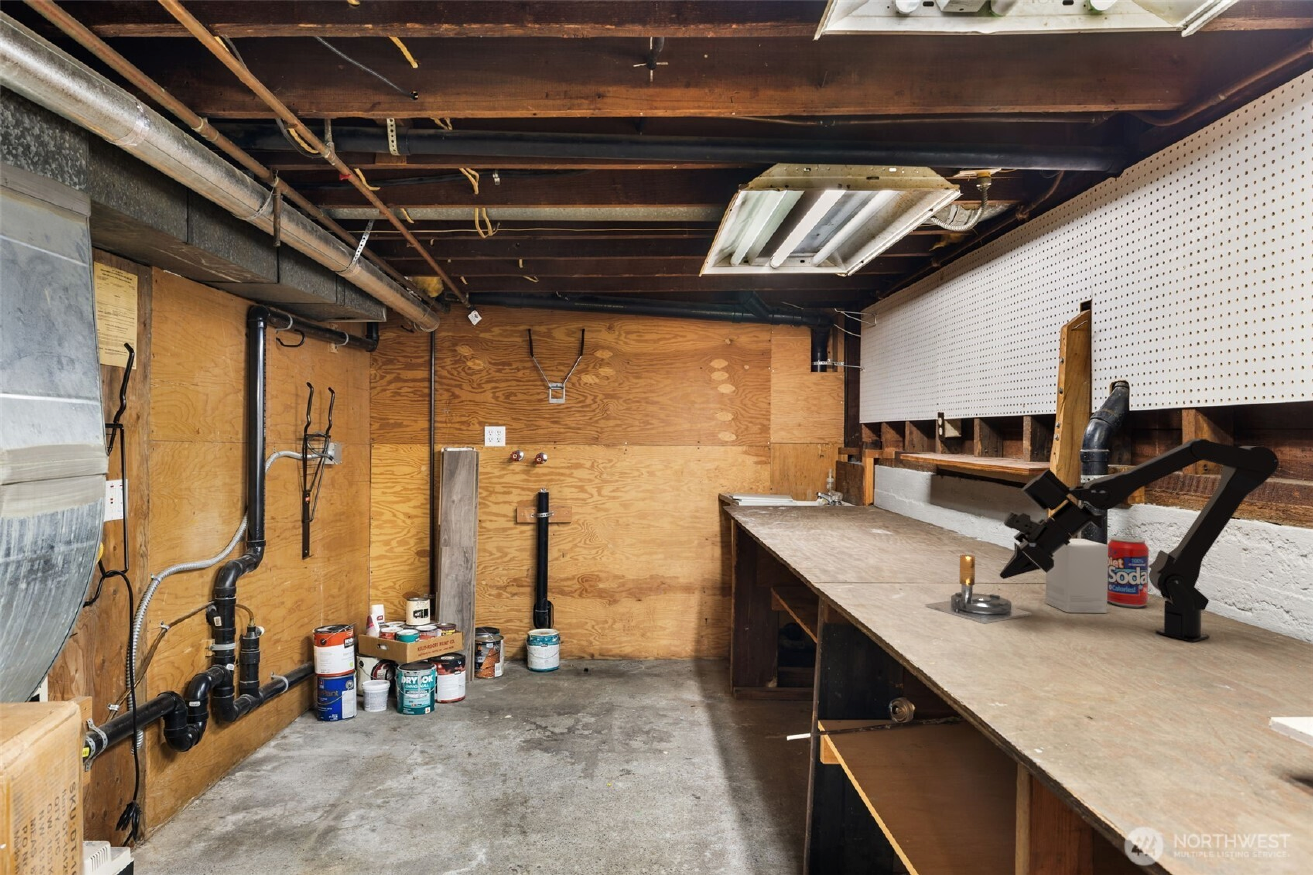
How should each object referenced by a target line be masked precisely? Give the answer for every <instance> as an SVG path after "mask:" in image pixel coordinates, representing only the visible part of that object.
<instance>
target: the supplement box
mask: <svg viewBox="0 0 1313 875" xmlns="http://www.w3.org/2000/svg"><path fill="white" fill-rule="evenodd" d="M1069 541H1070V543H1069V544H1068V545H1067V546H1066V545H1065V544H1064V545H1063V546H1062V547H1061V548H1059V549H1058V550H1057V551H1056V552H1055V553H1053V555H1054V556H1053V557H1052V558H1053V560H1054V567H1053V568H1052V569H1051V570H1049V571H1048V572H1047V573H1046V572H1045V603H1046V604H1047V605H1049V606H1051V607H1054V608H1056V609H1059V610H1060V611H1063V612H1065V613H1072V614H1073V613H1078V614H1079V613H1081V614H1083V613H1084V614H1107V613H1108V600H1107V579H1108V545H1107V544H1104V543H1101V542H1096V541H1094V540H1093V541H1092V540H1089V539H1086V538H1072V539H1070V540H1069Z"/></svg>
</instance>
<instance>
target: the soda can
mask: <svg viewBox="0 0 1313 875" xmlns="http://www.w3.org/2000/svg"><path fill="white" fill-rule="evenodd" d="M1106 545H1108V579H1107V602H1110V603H1111V604H1113V605H1115V606H1118V607H1124V608H1129V609H1130V608H1132V609H1138V608H1142V607H1144V606H1146V605H1147V604H1148V600H1149V599H1148V598H1149V597H1148V596H1149V567H1148V566H1149V559H1150V558H1149V551H1150V550H1149V547H1148V545H1147V544H1146V540H1145V539H1141V538H1135V537H1127V536H1126V537H1124V536H1115V537H1114V536H1113V537H1112V536H1111V537H1110V541H1109V542H1108V543H1107V544H1106Z"/></svg>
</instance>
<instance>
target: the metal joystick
mask: <svg viewBox="0 0 1313 875" xmlns="http://www.w3.org/2000/svg"><path fill="white" fill-rule="evenodd" d="M975 577H976V556H975V555H972V554H960V555H959V581H958V582H959V585H961V586H960V587H961V588H960V589H961V590H960V591H959V592H955V594H951V595H950V600H951V605H952V606H953V607H954V600H955V599H959V600H960V606H959V609H960V610H963V611H968V612H973V613H981V614H1006V613H1010V612H1011V611H1012V608H1013V607H1012V605H1013V604H1012V601H1011V600H1009V599H1007V598H1005V597H1002V596H1000V595H998V594H994V593H990V594H986V593H973V592H974V590H973V586H975V585H976V583H975V582H976V578H975Z"/></svg>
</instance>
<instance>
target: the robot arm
mask: <svg viewBox="0 0 1313 875" xmlns="http://www.w3.org/2000/svg"><path fill="white" fill-rule="evenodd" d="M1200 461H1205V462H1209V463H1213V464H1217V465H1221V466H1223V467H1222V470H1221V473H1220V474H1221V475H1220V481H1219V484H1218V486H1217V488H1216V489H1215V490H1214V492H1213V493H1212V495H1211V496H1210V497H1209V500H1208V501H1207V502H1206V504H1204V507H1203V508H1202V509H1201V511H1200V512H1199V514H1198V516H1197V517H1196V519H1195V520H1194V521H1193V523H1192V525H1191V526H1190V527H1189V529H1188V530H1187V531H1186V533H1185V534H1184V536H1183V538H1181V540H1180V542H1179V543H1178V545H1176V547H1175V548H1173V549H1172V550H1171V551H1170V552H1168V553H1167V552H1165V551H1164V550H1162V549H1161V550H1159V551H1158V553H1157V555H1156V558H1155V560H1153V561H1152V563H1151V564H1148V569H1150V571H1149V572H1148V580H1149V581H1150V584H1151V585H1152V586H1153V587H1154V588H1155V589H1157V591H1158V592H1160V595H1161V597H1162V598H1163V599H1165V600H1164V607H1163V608H1164V612H1163V613H1164V614H1163V615H1164V618H1163V619H1164V620H1163V628H1160V629H1156V630H1155V632H1154V633H1155V634H1158V635H1163V636H1167V637H1170V638H1176V639H1179V640H1183V641H1187V642H1191V643H1192V642H1197V641H1201V640H1206V639H1209V638H1210V634H1208V633H1207V634H1206V633H1204V632H1203V633H1202V611H1204V610H1206V608H1207V606H1208V604H1209V602H1210V601H1209V598H1207V597H1206V596H1205V595H1204V594H1203V593H1202V592H1201V591H1199V590H1198V589H1197V588H1196V587H1195V586H1196V584H1197V581H1198V580H1199V578H1200V577H1199V576H1200V573H1201V568H1202V562H1203V559H1204V558H1205V557H1206V555H1207V553H1208V552H1209V551H1210V550H1211V548H1212V546H1213V544H1215V542H1216V541H1217V539H1218V537H1219V536H1220V535H1221V533H1222V532H1223V530H1224V528H1226V526H1227V525H1228V523H1229V522H1230V520H1231V519H1232V518H1233V516H1234V514H1235V513H1236V511H1237V510H1238V509H1239V508H1240V506H1241V504H1242V503H1243V502H1244V500H1245V498H1247V496H1248V495H1249V494H1251V493H1252V492H1254V491H1255V490H1256V489H1258V488H1260V487H1261V486H1262V485H1263V484H1265V482H1267V480H1268V479H1270V477H1271V476H1272V475H1273V474H1275V472H1276V471H1277V470H1278V468H1279V466H1280V461H1279V459H1278V456H1277V454H1276V453H1275V452H1274V451H1273V450H1272V449H1270V448H1268V447H1265V446H1259V445H1258V446H1254V445H1253V446H1252V445H1242V446H1234V445H1229V444H1225V443H1219V442H1214V441H1210V440H1209V439H1206V438H1191V439H1189V440H1187V441H1186V442H1184V443H1183V444H1181V445H1179V446H1176V447H1175V448H1172V449H1170V450H1168V451H1165V452H1164V453H1161V454H1159V455H1158V456H1157V455H1156V456H1155V457H1153V458H1151V459H1149V460H1146V461H1144V462H1142V463H1140V464H1137V465H1136V466H1133V467H1131V468H1129V469H1127V470H1124V471H1120V472H1117V473H1112V474H1109V475H1103V476H1101V477H1097V478H1094V479H1091V480H1090V479H1089V480H1088V481H1087V482H1086V483H1085V484H1083V485H1071V486H1067V485H1066V484H1065V483H1064V482H1063V481H1062V480H1061V479H1059V477H1057V475H1055V473H1054V472H1053V471H1052V470H1051V469H1049V468H1048V469H1045V470H1044V471H1043V472H1042V473H1040V474H1038V475H1037V476H1036V477H1033V478H1032V479H1031V480H1029V482H1028V483H1026V485H1024V486H1023V487H1022V489H1021V492H1023V493H1024V494H1025V495H1026V496H1027V497H1028V498H1029V499H1030V500H1031V501H1032V502H1033V503H1034V504H1036V506H1038V507H1039V508H1040V509H1042V511H1046V509H1049V511H1054V510H1055V512H1053V513H1052V514H1051V515H1050V516H1048V517H1047V518H1046V519H1045V518H1041V519H1040V520H1039V521H1035V520H1033V519H1032V518H1031V515H1029V514H1027V513H1025V512H1023V511H1022V512H1020V513H1018V512H1016V511H1014V510H1009V512H1008V514H1007V515H1006V517H1005V520H1004V521H1003V525H1004V526H1005V527H1007V528H1009V529H1014V530H1016V531H1018V532H1017V533H1016V534H1015V535H1014V536H1013V538H1014V540H1015V541H1017V542H1019V544H1017V543H1016V542H1014V543H1013V547H1014V548H1013V549H1014V554H1012V556H1011V558H1010V559H1009V560H1008V562H1007V563H1006V565H1005V566H1004V567H1003V569H1001V571H1000V573H999V577H1000V578H1001V579H1002V580H1005V579H1007V578H1008V579H1009V578H1012V577H1016V576H1018V575H1023V574H1026V573H1030V572H1033V571H1037V570H1038V571H1039V570H1042V571H1043V572H1045V574H1046V573H1047V572H1048V571H1049V570H1051V569H1052V568H1053V567H1054V560H1053V558H1052V557H1053V556H1054V555H1053V553H1055V552H1056V551H1057V550H1058V549H1059V548H1061V547H1062V546H1063V545H1064V544H1065V545H1066V546H1067V545H1068V544H1069V543H1070V541H1069V540H1070V539H1074V537H1075V536H1077V535H1078V534H1079V533H1080V532H1081V531H1082V530H1084V529H1085V528H1086V527H1087V526H1089V525H1090V524H1092V525H1093V526H1095V527H1096V528H1097V529H1100V530H1102V529H1103V519H1104V515H1103V514H1101V513H1095V512H1093V511H1092V510H1091V509H1090V508H1089V507H1087V505H1085V504H1084V503H1083V504H1082V503H1081V504H1080V505H1077V504H1076V503H1075V502H1074V501H1073V500H1072V499H1071V498H1070V497H1072V498H1074V499H1075V500H1077V501H1081V502H1085V503H1086V504H1088V506H1091V507H1093V508H1095V509H1097V510H1101V511H1107V510H1111V509H1114V508H1115V507H1116V506H1118V505H1119V504H1121V503H1122V502H1124V501H1125V500H1127V499H1128V498H1129V497H1131V496H1132V494H1134V493H1135V492H1137V491H1138V490H1140V489H1141V488H1143V487H1146V486H1148V485H1150V484H1152V483H1155V482H1156V481H1159V480H1160V479H1162V478H1165V477H1167V476H1169V475H1171V474H1174V473H1176V472H1178V471H1180V470H1183V469H1185V468H1187V467H1190V466H1192V465H1194V464H1196V463H1197V462H1200ZM1068 495H1069V496H1070V497H1069V496H1068ZM1065 501H1066V502H1065ZM1064 502H1065V503H1064ZM1063 503H1064V504H1063ZM1062 504H1063V505H1062ZM1061 505H1062V506H1061ZM1057 508H1058V509H1057ZM1056 509H1057V510H1056Z"/></svg>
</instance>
